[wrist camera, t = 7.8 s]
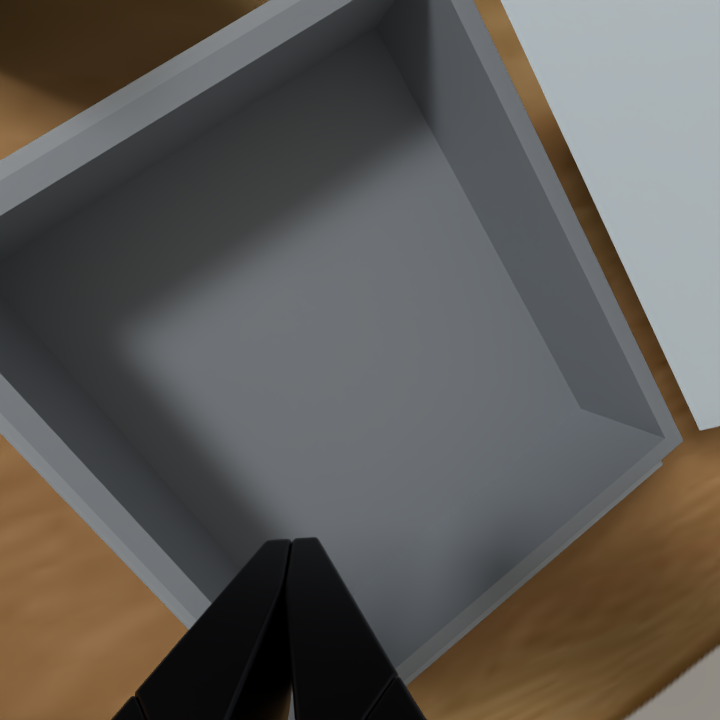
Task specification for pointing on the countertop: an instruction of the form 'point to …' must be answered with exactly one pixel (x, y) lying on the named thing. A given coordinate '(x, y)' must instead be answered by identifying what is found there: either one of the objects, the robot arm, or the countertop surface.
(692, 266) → the grey box lid
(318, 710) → the robot arm
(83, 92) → the countertop surface
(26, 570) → the countertop surface
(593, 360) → the grey shallow open box
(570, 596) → the countertop surface
